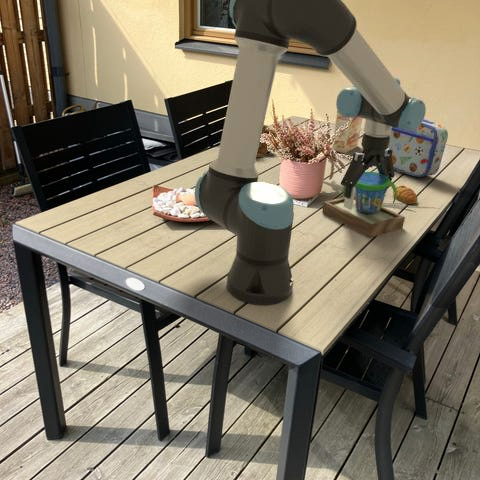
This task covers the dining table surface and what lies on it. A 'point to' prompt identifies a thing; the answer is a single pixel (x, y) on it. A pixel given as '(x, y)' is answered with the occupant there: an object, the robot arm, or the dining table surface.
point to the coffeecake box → (347, 133)
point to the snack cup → (371, 192)
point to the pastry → (405, 195)
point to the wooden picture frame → (363, 218)
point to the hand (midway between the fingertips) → (363, 204)
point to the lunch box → (418, 149)
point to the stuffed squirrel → (263, 146)
